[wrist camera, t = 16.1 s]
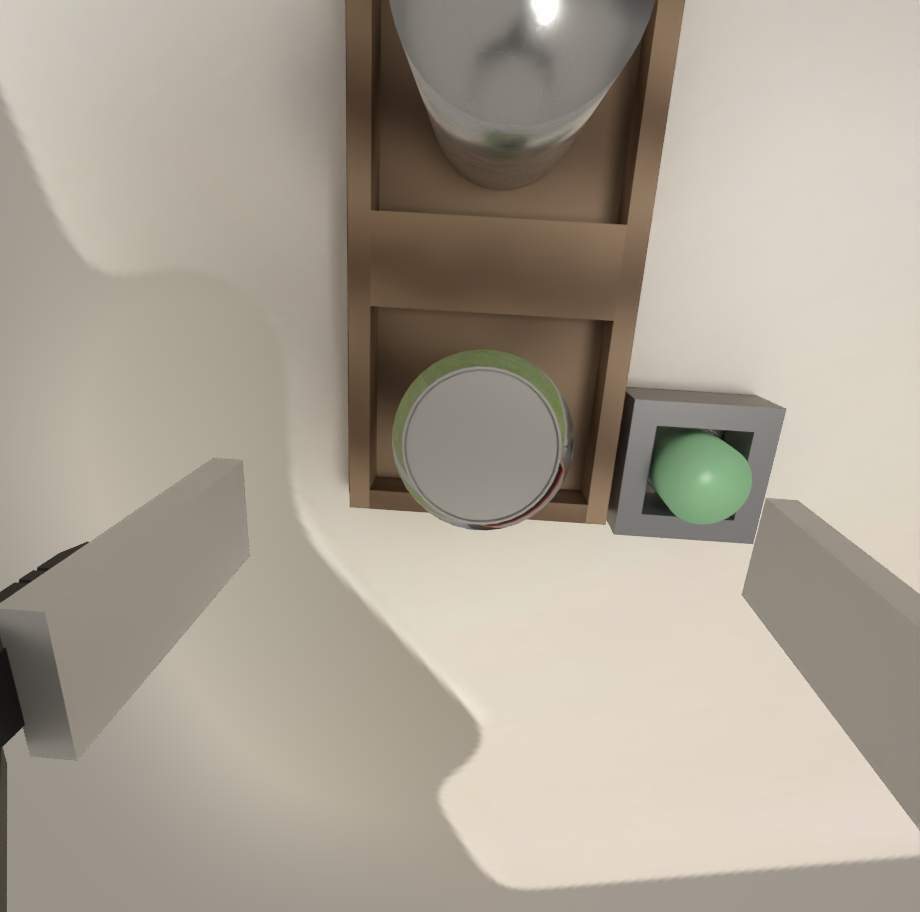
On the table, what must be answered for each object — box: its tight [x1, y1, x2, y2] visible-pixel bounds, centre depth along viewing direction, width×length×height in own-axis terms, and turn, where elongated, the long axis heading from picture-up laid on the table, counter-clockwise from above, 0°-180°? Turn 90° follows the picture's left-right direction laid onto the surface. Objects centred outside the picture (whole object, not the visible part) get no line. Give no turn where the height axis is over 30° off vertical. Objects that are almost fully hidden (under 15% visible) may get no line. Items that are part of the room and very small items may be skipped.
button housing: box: [606, 387, 786, 544], centre depth 29 cm, size 7×7×3 cm
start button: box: [647, 426, 752, 524], centre depth 28 cm, size 4×4×4 cm
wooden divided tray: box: [345, 0, 685, 525], centre depth 26 cm, size 24×14×3 cm, turn 177°
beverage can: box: [392, 349, 574, 530], centre depth 23 cm, size 6×7×12 cm
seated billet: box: [389, 0, 655, 191], centre depth 19 cm, size 6×6×12 cm
